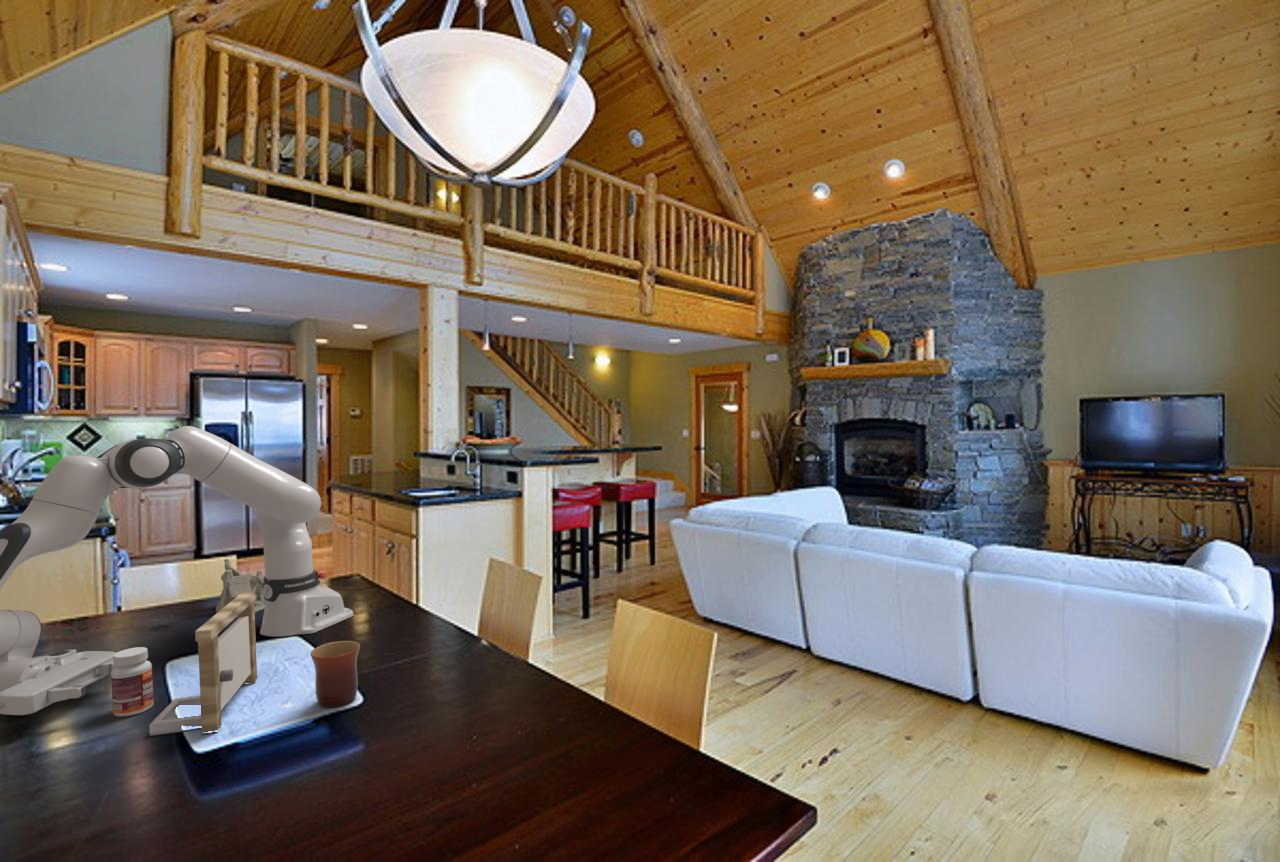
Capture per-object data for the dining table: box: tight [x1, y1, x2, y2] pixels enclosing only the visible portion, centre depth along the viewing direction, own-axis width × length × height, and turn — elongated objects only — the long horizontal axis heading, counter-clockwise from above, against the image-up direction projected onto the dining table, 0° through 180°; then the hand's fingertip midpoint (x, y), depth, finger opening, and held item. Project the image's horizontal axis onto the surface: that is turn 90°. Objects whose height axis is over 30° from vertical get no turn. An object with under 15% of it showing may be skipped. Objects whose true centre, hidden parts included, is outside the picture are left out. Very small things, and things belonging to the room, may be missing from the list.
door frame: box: [194, 591, 258, 733], centre depth 122 cm, size 25×2×19 cm, turn 16°
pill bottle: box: [110, 646, 154, 717], centre depth 121 cm, size 6×6×11 cm
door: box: [218, 616, 251, 711], centre depth 123 cm, size 18×3×12 cm, turn 16°
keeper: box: [148, 695, 202, 737], centre depth 118 cm, size 10×9×2 cm
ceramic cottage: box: [215, 558, 265, 618], centre depth 185 cm, size 16×16×15 cm
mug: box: [310, 640, 361, 708], centre depth 125 cm, size 12×9×10 cm
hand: (103, 680), depth 121 cm, fingers open, 8 cm apart
